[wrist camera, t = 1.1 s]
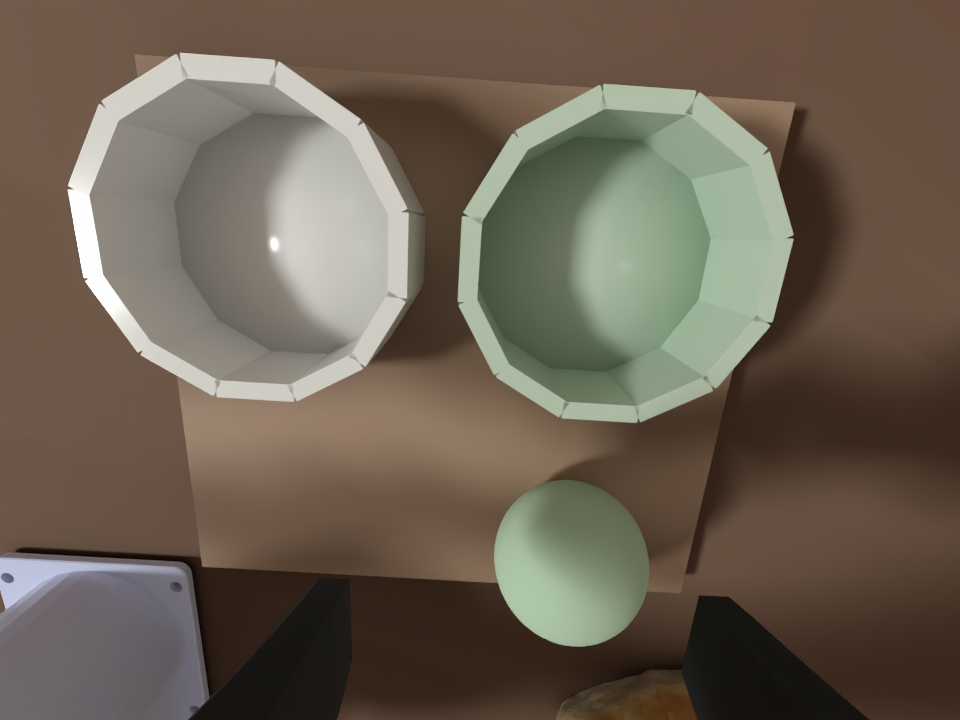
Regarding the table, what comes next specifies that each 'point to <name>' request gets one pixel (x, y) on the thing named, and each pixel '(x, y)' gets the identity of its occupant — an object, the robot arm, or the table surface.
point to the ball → (571, 563)
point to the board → (437, 392)
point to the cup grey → (245, 227)
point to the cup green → (623, 253)
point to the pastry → (633, 699)
